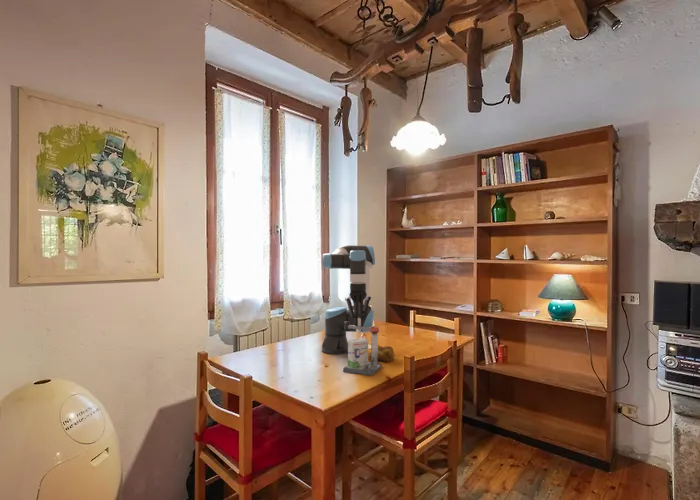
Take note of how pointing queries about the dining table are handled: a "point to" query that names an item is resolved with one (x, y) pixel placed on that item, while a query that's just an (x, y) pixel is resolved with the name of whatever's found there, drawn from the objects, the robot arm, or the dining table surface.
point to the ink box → (357, 352)
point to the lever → (360, 327)
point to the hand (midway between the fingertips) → (358, 331)
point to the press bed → (372, 365)
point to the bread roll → (385, 353)
